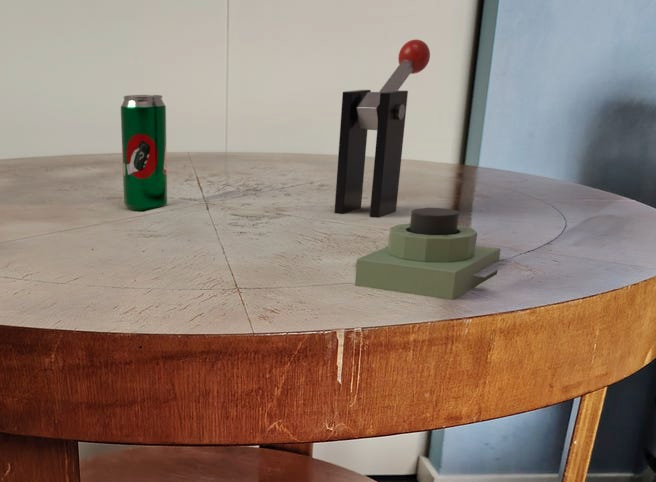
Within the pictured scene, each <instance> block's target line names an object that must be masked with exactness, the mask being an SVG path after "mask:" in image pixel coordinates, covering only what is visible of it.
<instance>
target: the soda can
mask: <svg viewBox="0 0 656 482" xmlns="http://www.w3.org/2000/svg"><path fill="white" fill-rule="evenodd" d="M120 126H121V128H120V129H121V130H120V131H121V154H122V155H121V156H122V157H121V158H122V181H123V182H122V183H123V204H124V205H125V207H126V208H127V209H129V210H131V211H136V212H137V211H138V212H148V211H152V210H157V209H161V208H164V207H165V206H166V205H167V204H168V163H167V162H168V160H167V155H168V154H167V105H166V104H165V103H164V100H163V95H160V94H131V95H130V94H129V95H123V102H122V104H121V106H120Z"/></svg>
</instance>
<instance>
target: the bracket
mask: <svg viewBox="0 0 656 482" xmlns="http://www.w3.org/2000/svg"><path fill="white" fill-rule="evenodd" d="M368 92H372V91H371V89H357V90H347V91H342V97H341V110H340V111H341V112H340V113H341V114H340V125H339V139H338V140H339V141H338V157H337V169H336V170H337V171H336V185H335V200H334V214H335V215H337V214H338V215H345V214H348V213H351V212H354V211H357V210H360V209H362V202H363V201H362V200H363V192H364V191H363V189H364V177H365V176H364V175H365V166H366V165H365V164H366V153H367V152H366V151H367V140H368V130H363V129H359V122H358V115H357V106H358V105H359V103H360V102H361V101H362V99H363V98H364V97H365V96H366V94H367V93H368ZM408 94H409V90H398V91H391V92H382V93H380V103H379V115H378V126H377V130H376V137H375V138H376V139H375V151H374V162H373V163H374V164H373V176H372V185H371V186H372V187H371V197H370V198H371V199H370V207H369V208H370V209H369V218H377V219H379V218H382V217H385V216H387V215H391V214H394V213H396V212H397V205H398V195H399V188H400V187H399V186H400V178H401V177H400V176H401V165H402V155H403V146H404V145H403V144H404V134H405V126H406V125H405V124H406V116H407V115H406V114H407V106H408Z"/></svg>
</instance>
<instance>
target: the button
mask: <svg viewBox="0 0 656 482" xmlns="http://www.w3.org/2000/svg"><path fill="white" fill-rule="evenodd" d="M459 217H460V212H459V211H458V210H455V209H451V208H443V207H421V208H420V207H419V208H415V209H412V210H411V213H410V221H409V223H410V230H409V232H411V233H415V234H423V235H452V234H457V226H458V225H459Z"/></svg>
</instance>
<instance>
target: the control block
mask: <svg viewBox="0 0 656 482" xmlns="http://www.w3.org/2000/svg"><path fill="white" fill-rule="evenodd" d="M409 230H410V222H409V223H400V224H397V225H394V226H392V227H390V228H389V234H388V245H387V246H386V247H383V248H380V249H378V250H375V251H372V252H371V253H368V254H366V255H363V256H361V257H358V258H357V259H356V265H355V266H356V267H355V278H354V286H355V287H360V288H361V287H362V288H368V289H375V290H381V291H389V292H394V293H402V294H410V295H415V296H421V297H430V298H436V299H442V300H450V301H454V300H455V299H457V298H459V297H461V296H462V295H464V294H465V293H467V292H469V291H471V290H473V289H475V288H476V287H478V286H479V285H481V284H483V283H485V282H487V281H488V280H489V279H491V278H493V277H495V276H497V274H498V269H496V270H494V271H493V272H491V273H489V274H488V275H486V276H479V275H475V274H477V273H479V272H480V271H482V270H485V269H486V268H488V267H490V266H491V265H493V264H495V263H497V262H499V261H500V257H501V256H500V255H501V248H500V247H492V246H484V245H477V239H478V232H477V231H476V230H475V229H474V228H472V227H468V226H464V225H460V224H458V226H457V234H452V235H423V234H415V233H411V232H409Z"/></svg>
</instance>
